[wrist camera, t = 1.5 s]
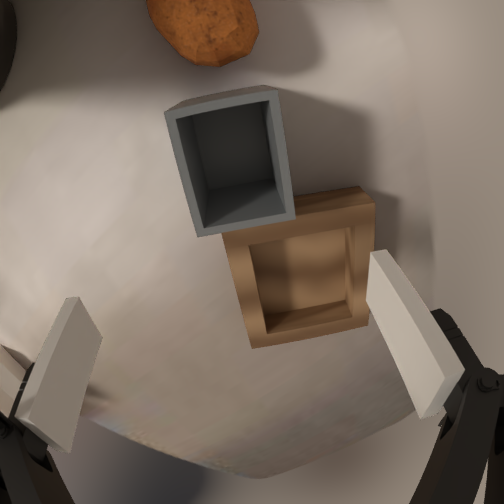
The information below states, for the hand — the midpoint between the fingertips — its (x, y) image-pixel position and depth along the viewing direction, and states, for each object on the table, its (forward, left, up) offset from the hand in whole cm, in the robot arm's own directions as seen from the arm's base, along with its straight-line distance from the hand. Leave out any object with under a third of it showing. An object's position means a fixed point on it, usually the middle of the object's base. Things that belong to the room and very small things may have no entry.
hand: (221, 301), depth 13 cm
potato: (-16, +1, -18) cm, 24 cm away
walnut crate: (+11, +6, -17) cm, 21 cm away
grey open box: (-3, +1, -17) cm, 18 cm away
